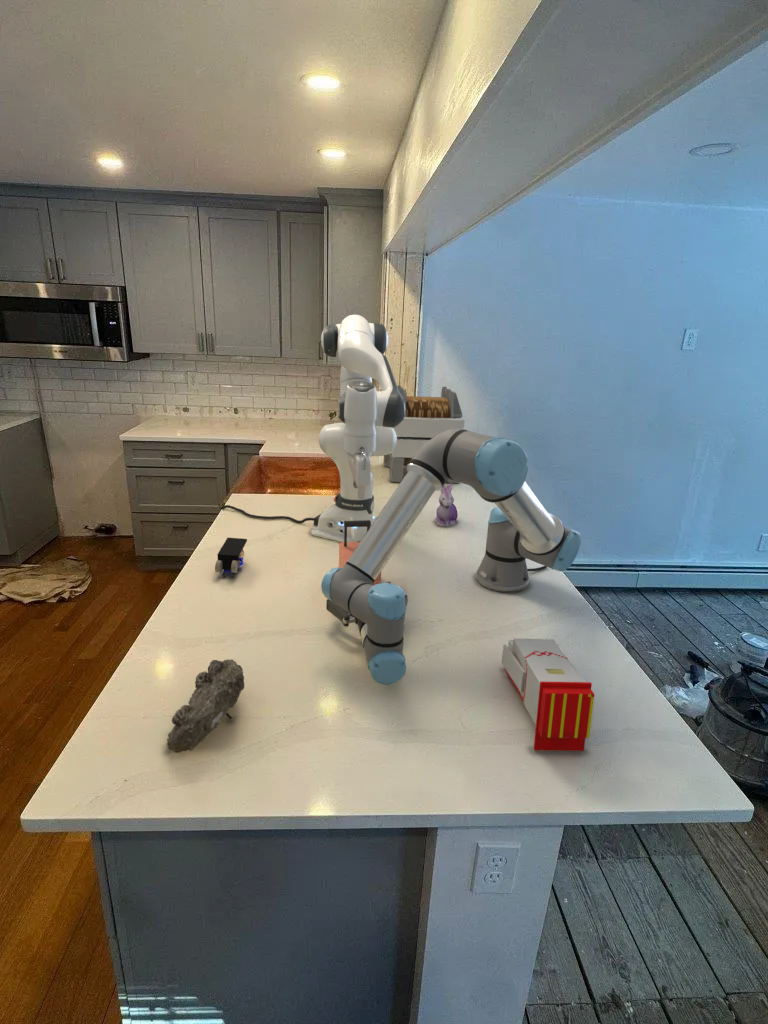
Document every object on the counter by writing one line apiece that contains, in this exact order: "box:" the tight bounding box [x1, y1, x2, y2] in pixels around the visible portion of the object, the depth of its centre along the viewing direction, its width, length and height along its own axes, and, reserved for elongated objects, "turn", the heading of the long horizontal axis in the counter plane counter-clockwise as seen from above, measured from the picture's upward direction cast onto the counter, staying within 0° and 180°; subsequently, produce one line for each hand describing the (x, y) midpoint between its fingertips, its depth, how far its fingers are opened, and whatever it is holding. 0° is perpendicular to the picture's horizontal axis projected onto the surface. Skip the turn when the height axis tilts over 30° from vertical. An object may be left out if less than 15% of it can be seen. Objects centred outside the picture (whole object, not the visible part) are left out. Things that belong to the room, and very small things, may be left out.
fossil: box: [166, 658, 245, 754], centre depth 106 cm, size 22×10×15 cm
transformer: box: [383, 384, 465, 484], centre depth 268 cm, size 34×33×41 cm
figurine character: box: [214, 537, 248, 578], centre depth 166 cm, size 7×8×15 cm
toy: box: [500, 637, 595, 752], centre depth 114 cm, size 12×13×30 cm
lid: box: [338, 520, 371, 565], centre depth 157 cm, size 17×10×9 cm, turn 10°
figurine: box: [434, 483, 459, 527], centre depth 210 cm, size 9×10×15 cm
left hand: (358, 492), depth 157 cm, fingers open, 8 cm apart
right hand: (362, 587), depth 147 cm, fingers open, 13 cm apart
